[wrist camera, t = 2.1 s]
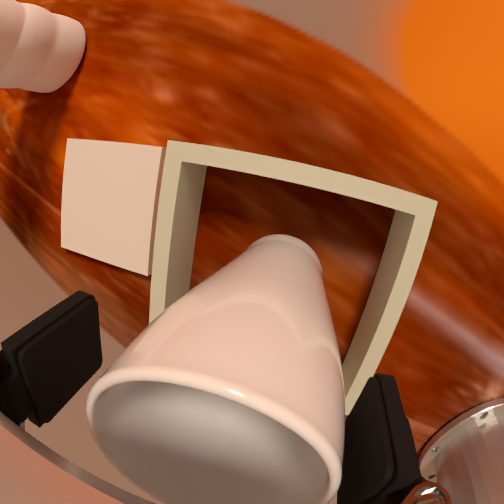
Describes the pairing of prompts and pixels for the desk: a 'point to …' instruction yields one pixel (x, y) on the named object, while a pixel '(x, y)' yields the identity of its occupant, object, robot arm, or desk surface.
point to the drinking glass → (232, 388)
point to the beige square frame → (405, 203)
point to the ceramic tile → (112, 201)
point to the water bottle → (37, 47)
